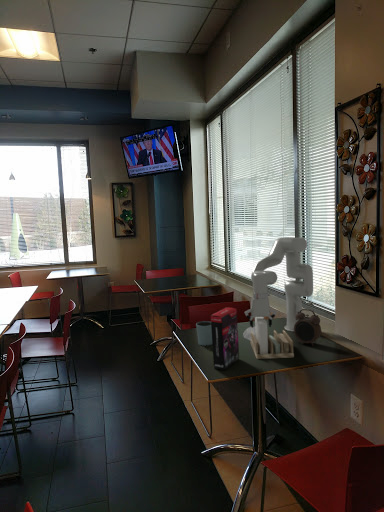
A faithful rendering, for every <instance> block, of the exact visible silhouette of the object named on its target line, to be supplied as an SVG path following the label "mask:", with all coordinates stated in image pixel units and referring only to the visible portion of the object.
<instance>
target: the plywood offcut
mask: <svg viewBox="0 0 384 512" xmlns="http://www.w3.org/2000/svg"><path fill="white" fill-rule="evenodd" d="M277 334H278V335H279V337H280V338H281V340H282V341H283V353H289V343H288V341H287V340H286V338H285V337H284V336H283V333H277Z"/></svg>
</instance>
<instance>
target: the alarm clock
mask: <svg viewBox="0 0 384 512" xmlns="http://www.w3.org/2000/svg"><path fill="white" fill-rule="evenodd" d="M301 311H302V313H301ZM301 311H300V312H298V314H296V320H298V321H297V322H296V323H295V325H294V335H295V338H297V339H298V342H297V343H299V344H300V342H301V343H304V344H311V345H312V347H315V346H314V343H315V344H317V342H316V341H317V340H318V339H319V338H320V337H321V335H322V327H321V325H320V323H321V319H320V317H319V314H317V315H316V313H315V312H314V310H312V309H309V308H302V310H301ZM303 311H308V312H312V314H313V315H311V316H310V315H309V314H305V313H304V312H303Z"/></svg>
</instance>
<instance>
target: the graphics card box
mask: <svg viewBox="0 0 384 512" xmlns="http://www.w3.org/2000/svg"><path fill="white" fill-rule="evenodd" d="M237 314H238V313H237V308H234V307H224V308H222V309H220V310H219V311H217V312H215V313H213V314H211V315H210V322H211V329H212V344H211V345H212V357H213V358H212V359H213V368H214V369H217V370H222V371H225V370H227V369H228V368H229V367H231V366H232V365H233V364H234V363H235V362H237V361H238V360H239V359H240V349H239V348H240V347H239V329H238V315H237Z"/></svg>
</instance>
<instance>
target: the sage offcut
mask: <svg viewBox="0 0 384 512" xmlns="http://www.w3.org/2000/svg"><path fill="white" fill-rule="evenodd" d="M269 337H270V338H271V340H272V342H273V354H279V353H280V344H279V343H278V342H277V341H276V340H275V339H274V336H273V335H269Z"/></svg>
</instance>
